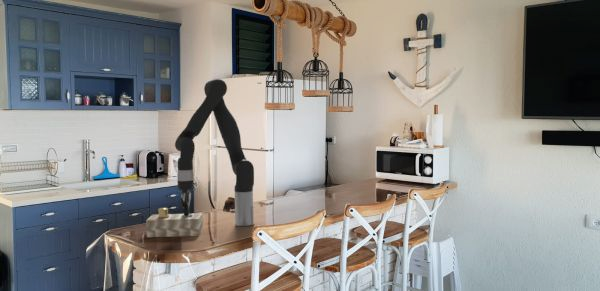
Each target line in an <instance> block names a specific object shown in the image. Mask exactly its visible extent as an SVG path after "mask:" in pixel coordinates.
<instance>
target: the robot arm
mask: <svg viewBox="0 0 600 291" xmlns="http://www.w3.org/2000/svg"><path fill="white" fill-rule="evenodd" d="M203 91H204V94H205V98H204V100H203V102H202V103H201V104H200V106H199V107H198V108H197V109H196V110H195V112H194V113H193V114H192V115H191V117H190V120H189V121H188V122H187V125H186V127H185V128H184V129H183V130H182V131H181V133H180V134H179V135H178V136H177V137H176V140H175V143H174V146H175V147H174V148H175V149H176V150H177V151H178V152H180V155H179V158H177V174H176V175H177V176H176V177H177V190H180V191H182V192H181V193H180V201H181V206H182V208H183V214H184V215H185V216H188V215H189V214H190V205H191V200H192V199H191V198H192V193H191V192H190V190H191V191H192V190H193V189H195V178H194V177H195V176H194V170H193V169H194V164H193V163H194V162H193V161H194V155H195V150H196V148H195V141H194V138H196V137H197V136H199V135H200V133H201V132H202V130H203V129H204V126H205V125H206V122H207V121H208V119H209V117H210V115H212V112H213V115H214V118H215V121H216V125H217V126H218V130H219V134H220V136H221V138H222V141H223V143H224V145H225V146H224V147H225V148H226V150H227V154H228V156H229V160H230V165H231V169H232V172H233V173H234V175H235V177H236V178H235V185H234V198H235V209H234V219H235V226H236V227H248V226H254V223H255V221H254V220H255V219H254V218H255V217H254V214H255V213H254V185H255V168H254V165H253V163H252V162H251V161H250V160H247V157H246V156H245V154H244V151H243V147H242V140H241V134H240V133H241V132H240V129H239V127H238V124H237V120H236V119H235V117H234V116H233V114H232V113H231V112H230V110H229V109H228V107H227V105H226V103H225V100H224V96H225V95H226V93H227V92H228V87H227V84H226V82H225V81H224V80H223V79H219V78H217V79H216V78H215V79H211V80H208V81H207V82H206V83H205V85H204V88H203Z"/></svg>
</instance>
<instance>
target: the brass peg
mask: <svg viewBox="0 0 600 291" xmlns="http://www.w3.org/2000/svg"><path fill="white" fill-rule="evenodd" d="M157 211H158V216H159V218H168V214H169V208H168V207H160V208H158V210H157Z"/></svg>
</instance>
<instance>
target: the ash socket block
mask: <svg viewBox="0 0 600 291" xmlns="http://www.w3.org/2000/svg"><path fill="white" fill-rule="evenodd" d="M190 214H191V217H187V218H182V215H184V213H168V218H159V216H158V214H151V216H149V217H148V218H147V219H146V221H145V222H146V224H145V226H146V227H145V228H146V238H165V237H170V238H171V237H197V236H198V237H200V235H201V233H202V231H203V229H204V228H203V227H204V225H203V213H202V212H201V213H197V212H196V213H190Z"/></svg>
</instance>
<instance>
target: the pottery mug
mask: <svg viewBox="0 0 600 291" xmlns="http://www.w3.org/2000/svg"><path fill="white" fill-rule="evenodd" d="M222 208H223V211H228V212H230V211H231V210H235V197H232V196H230V197H227V199H225V201H224V205H223V206H222Z"/></svg>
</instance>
